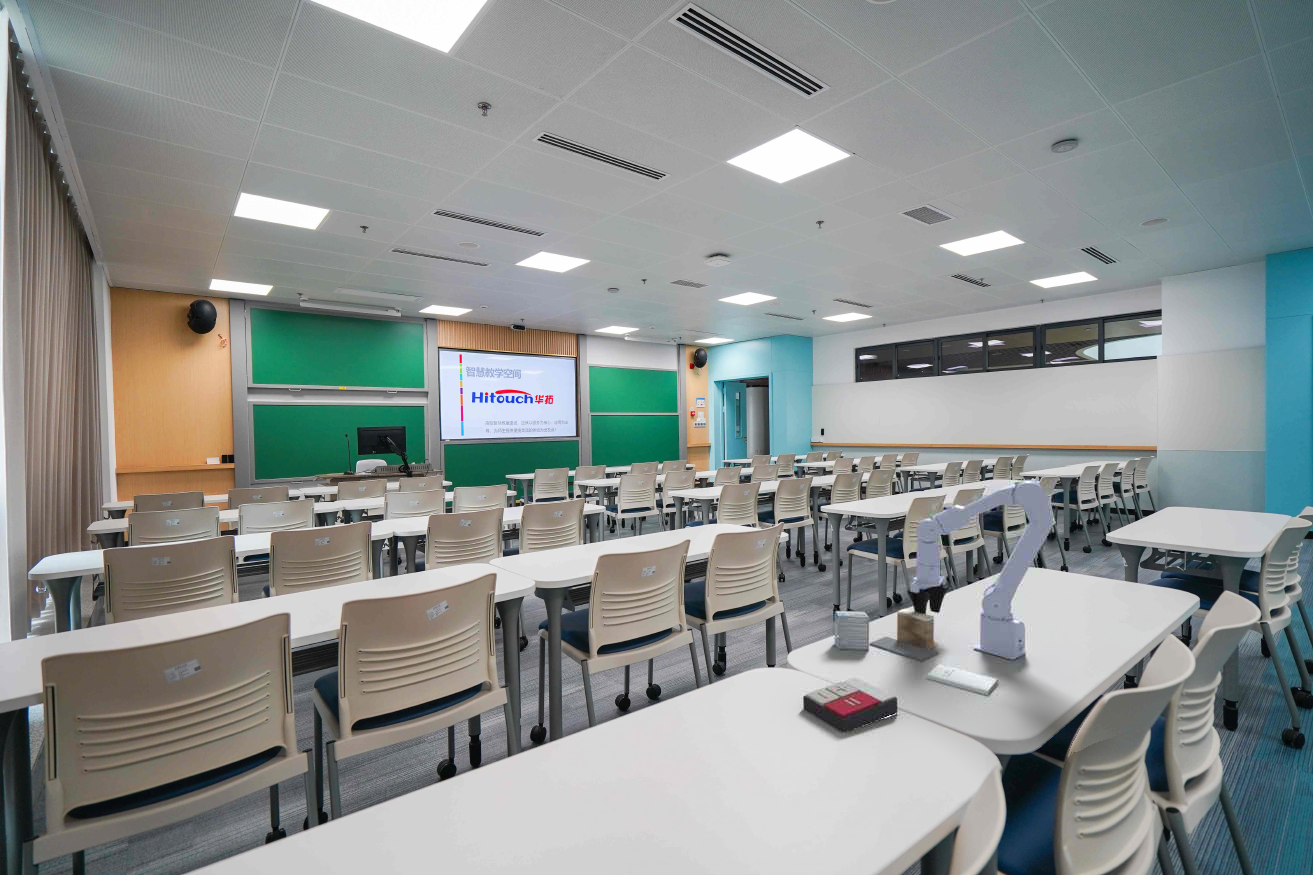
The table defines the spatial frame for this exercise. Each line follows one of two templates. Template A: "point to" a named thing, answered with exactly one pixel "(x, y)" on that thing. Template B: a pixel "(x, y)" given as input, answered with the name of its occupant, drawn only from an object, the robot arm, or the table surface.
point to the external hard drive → (963, 679)
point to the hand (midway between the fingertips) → (927, 614)
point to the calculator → (850, 704)
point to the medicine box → (852, 630)
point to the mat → (904, 648)
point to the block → (915, 628)
